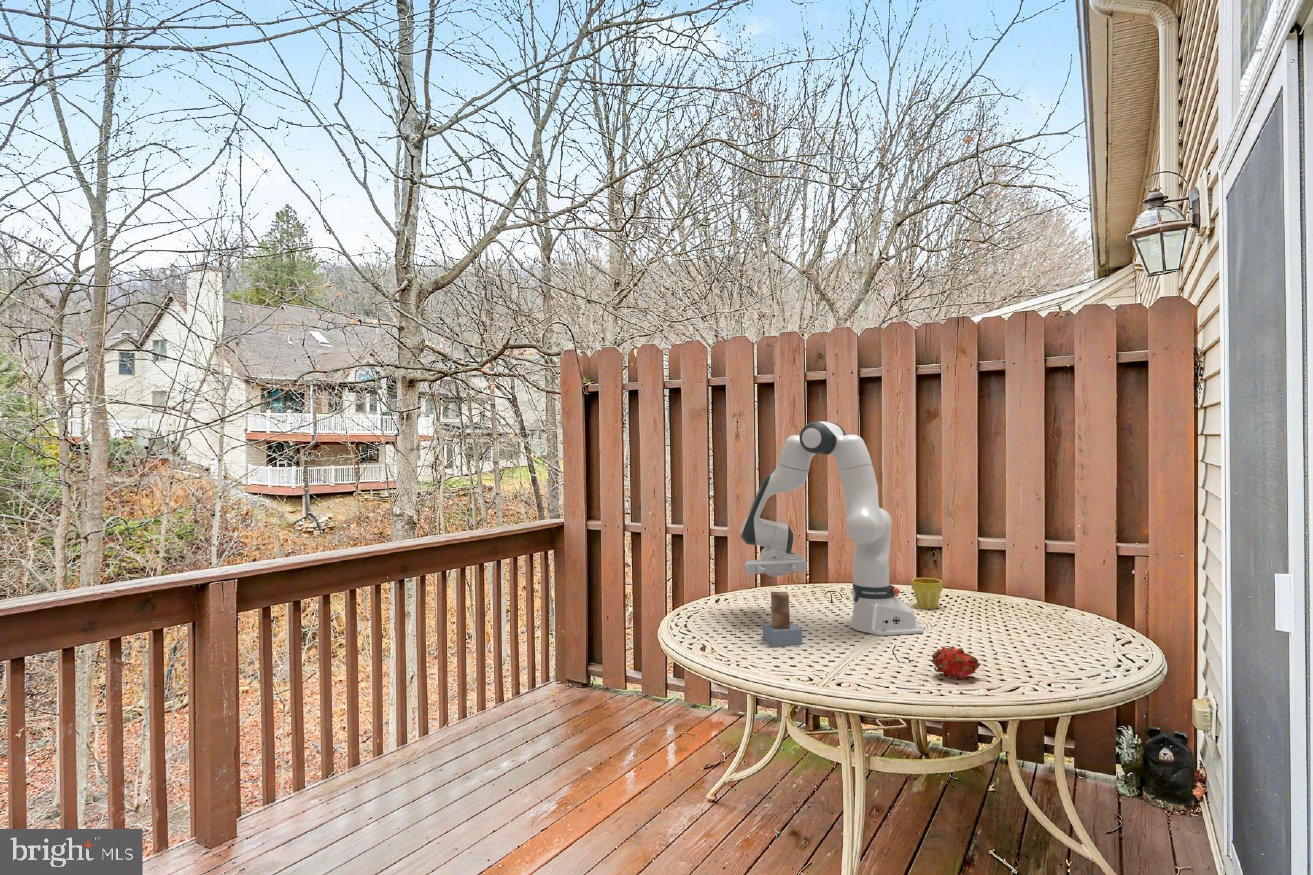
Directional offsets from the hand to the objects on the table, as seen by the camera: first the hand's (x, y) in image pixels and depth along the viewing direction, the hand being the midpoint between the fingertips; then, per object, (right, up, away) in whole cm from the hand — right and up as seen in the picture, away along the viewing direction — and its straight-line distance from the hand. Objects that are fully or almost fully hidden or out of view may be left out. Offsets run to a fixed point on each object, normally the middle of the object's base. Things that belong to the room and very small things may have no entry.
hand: (777, 570), depth 208 cm
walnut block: (-1, -15, -11) cm, 19 cm away
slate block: (-1, -20, -11) cm, 23 cm away
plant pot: (+60, -19, +26) cm, 68 cm away
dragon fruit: (+37, -18, -44) cm, 61 cm away
